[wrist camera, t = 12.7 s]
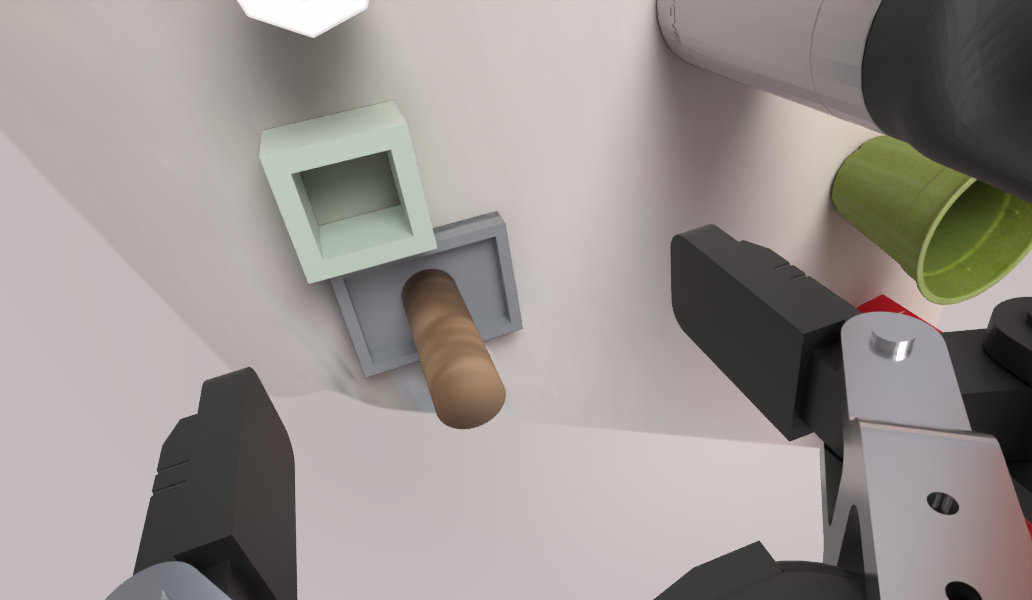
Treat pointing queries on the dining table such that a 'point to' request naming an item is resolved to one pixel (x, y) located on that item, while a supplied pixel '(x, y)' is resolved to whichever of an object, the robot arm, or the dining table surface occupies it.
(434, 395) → the wooden dowel
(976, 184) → the plant pot
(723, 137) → the dining table surface
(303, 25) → the cup
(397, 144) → the pot
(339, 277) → the tray
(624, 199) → the dining table surface
